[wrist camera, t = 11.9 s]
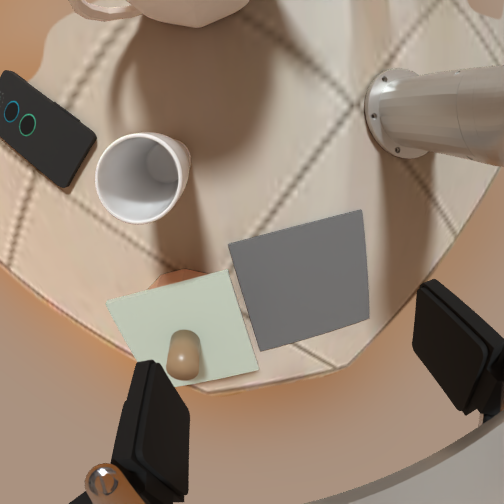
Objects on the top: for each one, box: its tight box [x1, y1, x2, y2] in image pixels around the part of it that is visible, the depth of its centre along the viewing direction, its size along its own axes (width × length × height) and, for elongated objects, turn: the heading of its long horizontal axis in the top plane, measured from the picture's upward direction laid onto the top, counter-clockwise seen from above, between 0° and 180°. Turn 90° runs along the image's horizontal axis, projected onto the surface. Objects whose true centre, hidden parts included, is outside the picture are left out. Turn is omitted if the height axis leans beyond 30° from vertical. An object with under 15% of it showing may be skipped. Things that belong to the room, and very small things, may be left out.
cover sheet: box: [105, 269, 259, 387], centre depth 33 cm, size 15×15×6 cm
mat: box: [228, 210, 369, 351], centre depth 41 cm, size 18×18×1 cm
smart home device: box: [0, 70, 97, 188], centre depth 28 cm, size 8×2×20 cm
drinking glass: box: [95, 132, 191, 225], centre depth 26 cm, size 7×7×15 cm
